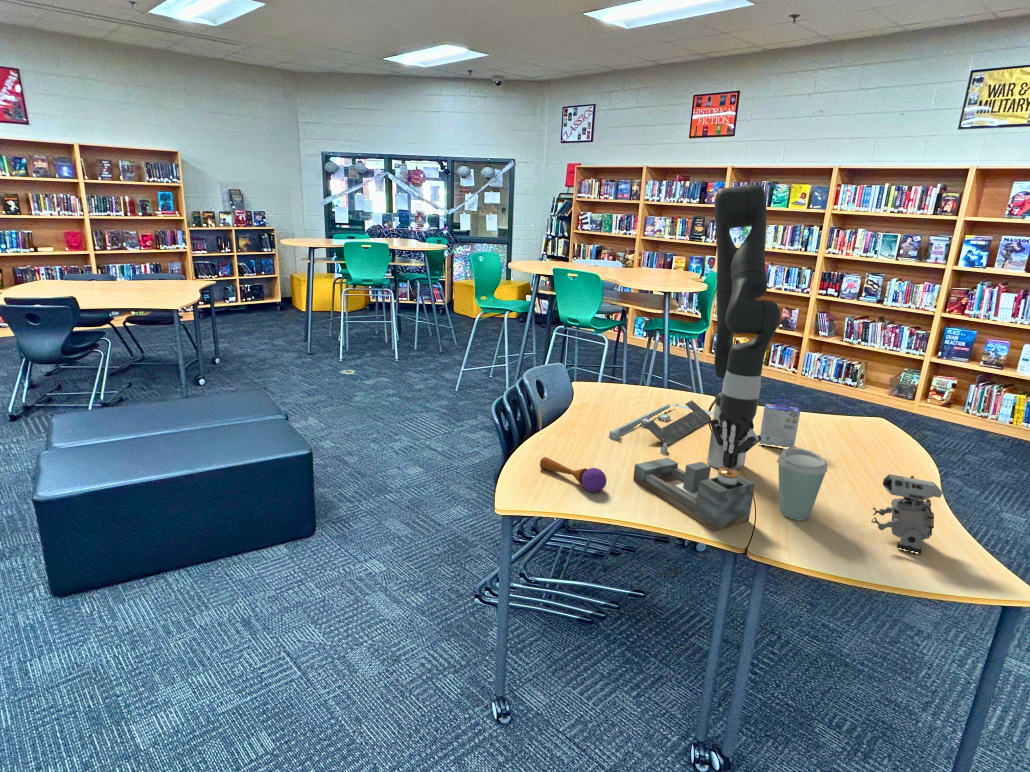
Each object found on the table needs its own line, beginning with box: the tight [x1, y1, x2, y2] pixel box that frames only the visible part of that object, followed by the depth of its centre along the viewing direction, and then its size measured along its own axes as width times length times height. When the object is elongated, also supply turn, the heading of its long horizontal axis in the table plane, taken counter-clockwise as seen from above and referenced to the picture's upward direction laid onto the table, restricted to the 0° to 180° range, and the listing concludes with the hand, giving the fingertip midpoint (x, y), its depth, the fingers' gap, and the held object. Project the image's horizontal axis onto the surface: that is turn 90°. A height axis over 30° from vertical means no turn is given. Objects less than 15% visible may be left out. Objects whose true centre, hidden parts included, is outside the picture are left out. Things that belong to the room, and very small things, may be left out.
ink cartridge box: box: [758, 397, 801, 448], centre depth 185 cm, size 10×6×14 cm, turn 70°
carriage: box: [675, 461, 712, 501], centre depth 146 cm, size 6×7×8 cm
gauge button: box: [717, 467, 740, 489], centre depth 137 cm, size 4×4×4 cm
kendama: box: [539, 456, 607, 493], centre depth 157 cm, size 6×6×20 cm
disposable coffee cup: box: [776, 447, 828, 521], centre depth 142 cm, size 11×11×15 cm
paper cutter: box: [608, 400, 714, 454], centre depth 198 cm, size 18×45×6 cm, turn 140°
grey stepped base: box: [632, 457, 756, 532], centre depth 148 cm, size 11×28×10 cm, turn 28°
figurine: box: [871, 473, 943, 554], centre depth 132 cm, size 9×12×15 cm
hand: (728, 466), depth 137 cm, fingers closed
